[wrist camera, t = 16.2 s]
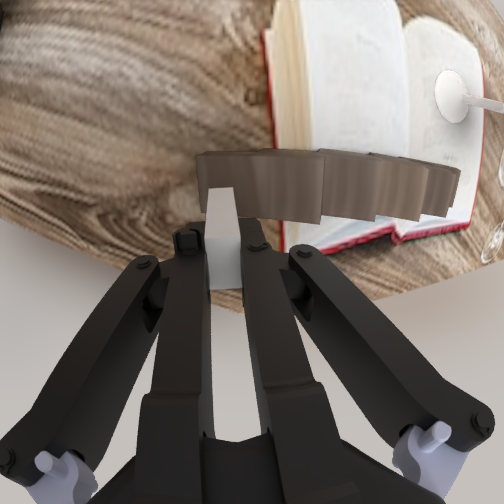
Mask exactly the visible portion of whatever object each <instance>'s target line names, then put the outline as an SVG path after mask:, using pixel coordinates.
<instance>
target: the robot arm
mask: <svg viewBox="0 0 504 504" xmlns="http://www.w3.org/2000/svg"><path fill="white" fill-rule="evenodd" d="M1 23H2V7H1V4H0V29H1ZM172 236H173V242H174V248H175V255H174V257H173V258H171V259H169V260H166V261H162V262H158V259H157V258H156V257H155V256H152V255H142V256H139V257H137V258H135V259H134V260H132V261H131V262H130V263H129V265H128V266H127V267H126V268H125V270H124V271H123V272H122V273H121V275H120V276H119V277H118V278H117V280H116V281H115V282H114V284H113V285H112V286H111V288H110V289H109V290H108V291H107V293H106V294H105V295H104V297H103V298H102V299H101V301H100V302H99V303H98V305H97V306H96V307H95V309H94V310H93V312H92V313H91V314H90V316H89V318H88V319H87V320H86V321H85V323H84V324H83V326H82V327H81V329H80V330H79V331H78V333H77V334H76V336H75V337H74V339H73V340H72V342H71V343H70V345H69V346H68V348H67V349H66V351H65V352H64V354H63V356H62V357H61V359H60V360H59V362H58V364H57V365H56V367H55V368H54V370H53V372H52V373H51V375H50V376H49V378H48V380H47V382H46V383H45V385H44V387H43V389H42V390H41V392H40V394H39V396H38V397H37V399H36V401H35V403H34V404H33V406H32V408H31V410H30V411H29V412H28V413H27V414H26V415H25V416H24V417H23V418H22V419H21V420H20V421H19V422H18V423H17V424H16V425H15V426H14V427H13V428H12V429H11V430H10V431H9V432H8V433H7V434H6V435H5V436H4V437H3V438H2V439H1V440H0V473H1V475H3V476H5V477H6V478H8V479H10V480H12V481H14V482H16V483H18V484H20V485H22V486H23V487H25V488H26V489H27V491H28V492H29V494H30V495H31V496H32V498H33V499H34V500H35V502H36V503H37V504H446V503H445V502H444V498H445V496H446V495H447V493H448V491H449V490H450V488H451V486H452V485H453V482H454V481H455V479H456V477H457V475H458V473H459V472H460V470H461V468H462V466H463V464H464V462H465V459H466V457H467V455H468V454H469V452H470V451H471V450H472V449H474V448H475V447H477V446H478V445H480V444H481V443H483V442H484V441H485V440H486V439H488V438H489V437H490V436H491V434H492V433H493V431H494V426H495V419H494V415H493V413H492V411H491V409H490V408H489V407H488V406H487V405H485V404H484V403H482V402H480V401H479V400H477V399H475V398H474V397H472V396H471V395H469V394H467V393H466V392H464V391H463V390H461V389H459V388H458V387H456V386H454V385H453V384H451V383H450V382H448V381H446V380H445V379H444V378H442V376H441V375H440V374H439V373H438V372H437V371H436V369H435V368H434V367H433V366H432V365H431V364H430V363H429V362H428V361H427V359H426V358H425V357H424V356H423V355H422V354H421V353H420V352H419V351H418V350H417V349H416V347H415V346H414V345H413V344H412V343H411V342H410V341H409V340H408V339H407V338H406V337H405V336H404V335H403V333H402V332H401V331H400V330H399V329H398V328H397V327H396V326H395V325H394V324H393V323H392V322H391V321H390V320H389V319H388V318H387V317H386V316H385V315H384V314H383V313H382V312H381V311H380V310H379V309H378V308H377V307H376V306H375V305H374V304H373V303H372V302H371V301H370V300H369V299H368V298H367V297H366V296H365V295H364V294H363V293H362V292H361V291H360V290H359V289H358V288H357V287H356V286H355V285H354V284H353V283H352V282H351V281H350V280H349V279H348V278H347V277H346V276H345V275H344V274H343V273H342V272H341V271H340V270H339V269H338V268H337V267H336V266H335V265H334V264H333V263H332V262H331V261H330V260H328V259H327V258H326V257H325V256H324V255H323V254H322V253H321V252H320V251H319V250H318V249H316V248H315V247H313V246H310V245H305V244H301V245H295V246H293V247H291V248H290V250H289V253H283V252H278V251H275V250H273V249H272V247H271V245H270V244H269V243H268V242H266V240H265V237H264V233H263V231H262V227H261V224H260V221H258V220H257V219H256V218H239V219H238V218H237V211H236V205H235V199H234V193H233V187H230V188H213V189H209V193H208V203H207V213H206V221H202V222H190V223H189V224H187V225H186V226H185V228H182V229H179V230H177V231H176V232H174V234H173V235H172ZM232 288H242V299H243V307H244V311H245V319H246V326H247V334H248V341H249V348H250V356H251V362H252V370H253V377H254V384H255V391H256V398H257V404H258V412H259V418H260V426H261V435H259V436H256V437H254V438H250V439H247V440H244V441H241V442H230V441H224V440H218V439H216V437H215V432H214V417H213V395H212V368H211V367H212V364H211V295H210V290H217V289H232ZM294 315H295V316H296V317H297V319H298V320H299V322H300V323H301V325H302V326H303V327H304V329H305V330H306V332H307V333H308V335H309V336H310V337H311V339H312V340H313V342H314V343H315V345H316V346H317V348H318V349H319V351H320V352H321V353H322V355H323V356H324V358H325V359H326V361H327V362H328V363H329V365H330V366H331V368H332V369H333V370H334V372H335V373H336V375H337V376H338V378H339V379H340V381H341V382H342V383H343V385H344V386H345V388H346V389H347V391H348V392H349V394H350V395H351V396H352V398H353V399H354V401H355V402H356V404H357V405H358V406H359V408H360V409H361V411H362V412H363V414H364V415H365V417H366V418H367V419H368V421H369V422H370V424H371V425H372V427H373V428H374V429H375V430H376V432H377V433H378V434H379V435H380V437H382V439H383V440H385V442H386V443H388V444H389V445H390V446H391V447H392V448H394V452H393V459H392V463H393V465H394V466H395V467H396V468H399V469H400V470H401V471H402V473H403V476H404V477H403V476H401V475H399V474H398V473H396V472H394V471H393V470H391V469H389V468H387V467H386V466H384V465H382V464H381V463H379V462H377V461H376V460H374V459H373V458H371V457H369V456H368V455H366V454H365V453H363V452H361V451H360V450H359V449H357V448H356V447H354V446H352V445H351V444H349V443H348V442H346V441H344V440H342V439H340V436H339V433H338V429H337V426H336V423H335V419H334V416H333V413H332V410H331V407H330V403H329V400H328V398H327V394H326V391H325V389H324V386H323V385H322V384H321V382H316V381H315V379H314V377H313V374H312V371H311V367H310V364H309V361H308V358H307V355H306V351H305V348H304V345H303V342H302V339H301V335H300V332H299V329H298V326H297V323H296V320H295V317H294ZM158 332H159V336H158V342H157V348H156V355H155V362H154V369H153V376H152V384H151V390H150V392H149V393H148V394H145V395H144V396H143V398H142V402H141V407H140V417H139V425H138V436H137V448H136V455H135V456H134V457H132V459H130V460H129V461H128V462H127V463H126V464H125V465H124V467H123V468H122V469H121V470H120V471H119V472H118V473H117V474H116V475H115V476H114V477H113V478H112V479H111V480H110V481H109V482H108V483H107V484H106V485H105V486H104V487H103V488H101V490H99V492H97V493H96V494H95V495H94V496H93V497H92V498H91V495H92V493H93V492H95V491H96V490H97V489H98V484H97V481H96V480H95V476H94V474H93V472H94V471H95V469H96V468H97V467H98V465H99V463H100V462H101V460H102V459H103V457H104V455H105V452H106V450H107V448H108V446H109V443H110V441H111V438H112V436H113V433H114V431H115V428H116V426H117V424H118V421H119V419H120V416H121V414H122V412H123V409H124V407H125V405H126V402H127V400H128V398H129V395H130V393H131V391H132V389H133V386H134V384H135V382H136V380H137V377H138V375H139V373H140V371H141V369H142V366H143V364H144V362H145V360H146V358H147V356H148V353H149V351H150V349H151V347H152V345H153V343H154V341H155V339H156V337H157V334H158Z"/></svg>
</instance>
